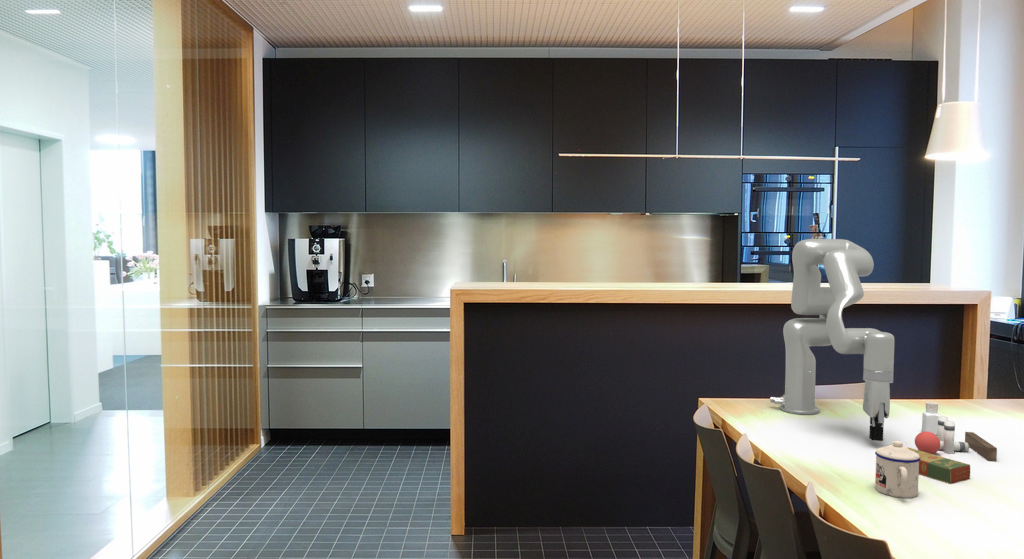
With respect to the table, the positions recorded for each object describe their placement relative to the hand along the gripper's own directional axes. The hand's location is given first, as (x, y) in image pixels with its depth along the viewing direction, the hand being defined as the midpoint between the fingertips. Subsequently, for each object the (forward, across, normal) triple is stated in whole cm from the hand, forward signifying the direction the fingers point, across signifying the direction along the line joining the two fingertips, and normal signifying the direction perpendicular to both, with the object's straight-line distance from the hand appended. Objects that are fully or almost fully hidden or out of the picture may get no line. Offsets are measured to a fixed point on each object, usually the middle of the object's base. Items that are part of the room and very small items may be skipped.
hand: (876, 439), depth 197 cm
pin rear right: (+2, +3, +18) cm, 18 cm away
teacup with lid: (+2, +41, -5) cm, 41 cm away
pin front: (0, 0, +14) cm, 14 cm away
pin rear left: (+2, -2, +18) cm, 18 cm away
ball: (-2, +5, +12) cm, 13 cm away
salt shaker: (+2, -17, +19) cm, 26 cm away
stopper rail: (+2, 0, +26) cm, 26 cm away
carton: (+2, +22, +7) cm, 23 cm away
